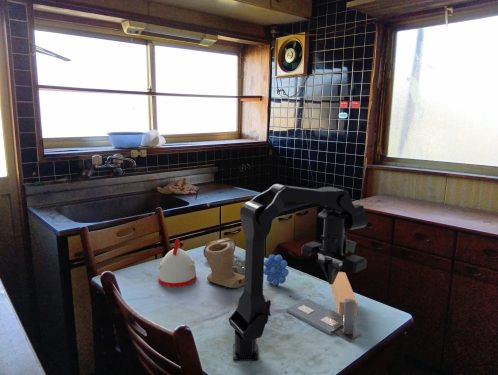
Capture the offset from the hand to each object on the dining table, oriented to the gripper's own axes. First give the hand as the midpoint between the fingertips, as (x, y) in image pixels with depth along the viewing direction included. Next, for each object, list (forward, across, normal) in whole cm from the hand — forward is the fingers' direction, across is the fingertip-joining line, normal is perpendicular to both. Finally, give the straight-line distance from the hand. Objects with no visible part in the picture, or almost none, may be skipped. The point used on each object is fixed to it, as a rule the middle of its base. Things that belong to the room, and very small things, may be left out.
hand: (331, 283), depth 110 cm
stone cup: (+13, +42, +6) cm, 44 cm away
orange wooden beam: (+12, +1, -7) cm, 14 cm away
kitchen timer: (+13, +56, +18) cm, 61 cm away
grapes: (+13, +29, -8) cm, 33 cm away
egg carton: (+14, +50, -5) cm, 52 cm away
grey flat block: (+13, -6, 0) cm, 15 cm away
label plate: (+13, +5, -1) cm, 14 cm away
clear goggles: (+13, +62, -7) cm, 64 cm away
